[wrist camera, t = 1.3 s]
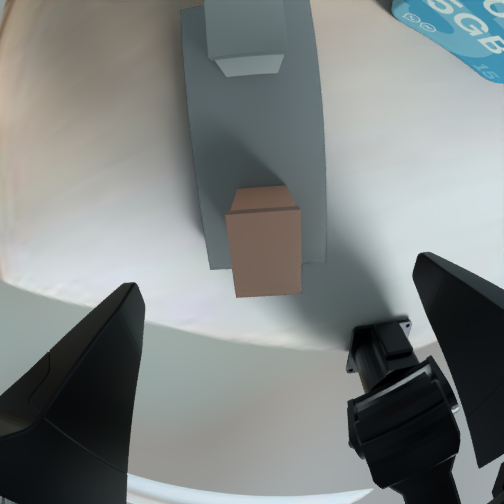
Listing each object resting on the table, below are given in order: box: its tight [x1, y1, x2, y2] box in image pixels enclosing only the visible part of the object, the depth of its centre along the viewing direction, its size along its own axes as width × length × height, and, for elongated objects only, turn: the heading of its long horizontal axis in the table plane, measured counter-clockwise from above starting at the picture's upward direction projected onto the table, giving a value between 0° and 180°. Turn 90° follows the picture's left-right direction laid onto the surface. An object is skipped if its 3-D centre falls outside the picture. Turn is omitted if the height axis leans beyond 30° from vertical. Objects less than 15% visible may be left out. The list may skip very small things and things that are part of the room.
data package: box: [391, 0, 504, 83], centre depth 8 cm, size 12×4×12 cm, turn 76°
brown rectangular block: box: [225, 185, 302, 298], centre depth 17 cm, size 4×3×8 cm
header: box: [180, 0, 326, 270], centre depth 17 cm, size 18×8×3 cm, turn 5°
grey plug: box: [204, 0, 289, 77], centre depth 12 cm, size 4×3×8 cm
